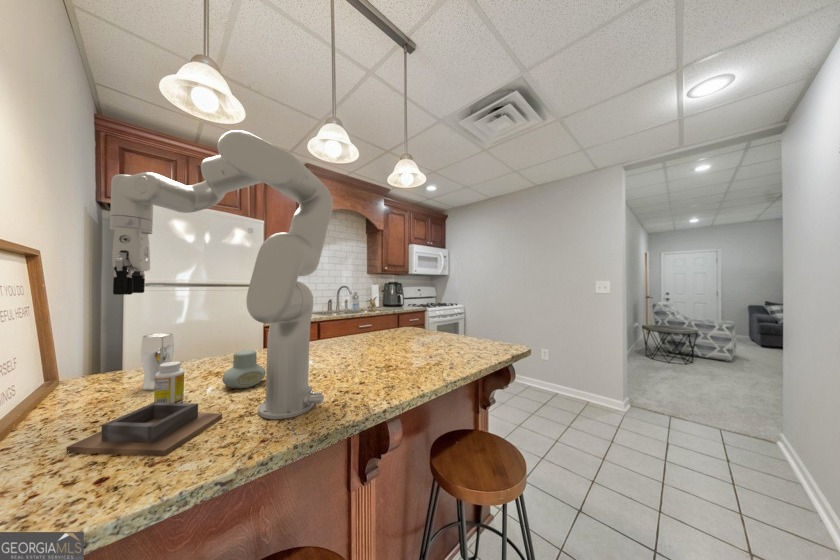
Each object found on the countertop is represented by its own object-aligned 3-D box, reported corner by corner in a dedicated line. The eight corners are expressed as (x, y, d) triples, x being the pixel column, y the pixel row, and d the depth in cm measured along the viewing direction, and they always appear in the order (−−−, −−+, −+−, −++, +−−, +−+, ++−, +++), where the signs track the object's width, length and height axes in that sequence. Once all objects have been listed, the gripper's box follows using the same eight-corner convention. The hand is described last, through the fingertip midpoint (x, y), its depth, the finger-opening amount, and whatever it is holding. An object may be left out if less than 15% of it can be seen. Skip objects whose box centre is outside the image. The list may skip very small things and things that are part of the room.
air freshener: (258, 377, 91) (259, 346, 91) (269, 384, 86) (270, 351, 86) (218, 387, 82) (219, 352, 83) (227, 394, 77) (228, 358, 77)
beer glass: (176, 385, 83) (177, 334, 83) (144, 393, 77) (145, 338, 77) (167, 380, 86) (169, 332, 87) (136, 387, 81) (138, 335, 81)
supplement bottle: (181, 398, 74) (182, 359, 74) (185, 404, 70) (186, 363, 71) (152, 404, 70) (153, 363, 70) (155, 411, 66) (156, 368, 66)
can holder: (222, 418, 64) (222, 400, 64) (164, 455, 50) (165, 433, 50) (144, 415, 64) (145, 398, 64) (66, 452, 50) (67, 430, 50)
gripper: (142, 222, 66) (140, 295, 66) (160, 232, 80) (158, 292, 80) (95, 217, 62) (92, 295, 62) (123, 229, 76) (120, 292, 76)
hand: (129, 293), depth 71 cm, fingers open, 9 cm apart
